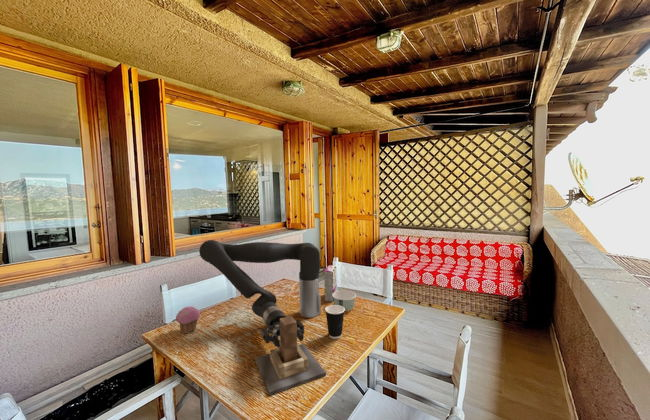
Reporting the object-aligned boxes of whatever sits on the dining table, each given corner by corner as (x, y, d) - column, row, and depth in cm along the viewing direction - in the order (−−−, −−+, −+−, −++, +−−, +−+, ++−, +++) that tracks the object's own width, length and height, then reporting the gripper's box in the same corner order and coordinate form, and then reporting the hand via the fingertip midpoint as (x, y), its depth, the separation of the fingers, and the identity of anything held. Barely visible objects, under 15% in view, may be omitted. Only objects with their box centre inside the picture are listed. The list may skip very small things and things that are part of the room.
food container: (355, 313, 127) (355, 300, 127) (330, 311, 129) (330, 298, 129) (357, 303, 139) (357, 291, 138) (334, 301, 141) (333, 289, 140)
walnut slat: (292, 358, 91) (291, 315, 90) (297, 367, 87) (296, 322, 86) (280, 362, 89) (279, 318, 88) (285, 371, 85) (284, 325, 84)
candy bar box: (328, 293, 152) (328, 265, 151) (337, 294, 151) (336, 265, 150) (324, 301, 141) (323, 270, 140) (333, 302, 140) (333, 271, 139)
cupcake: (193, 323, 118) (192, 301, 118) (204, 329, 113) (203, 306, 113) (172, 332, 111) (171, 309, 110) (183, 339, 106) (182, 314, 105)
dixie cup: (325, 330, 112) (325, 304, 111) (344, 330, 111) (344, 304, 111) (325, 341, 104) (324, 313, 103) (345, 341, 104) (345, 313, 103)
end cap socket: (303, 346, 100) (303, 334, 100) (325, 375, 84) (325, 361, 84) (255, 360, 92) (254, 347, 92) (269, 395, 76) (269, 380, 76)
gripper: (255, 314, 97) (268, 335, 82) (293, 306, 103) (311, 324, 89) (256, 334, 97) (268, 359, 83) (293, 325, 104) (311, 346, 89)
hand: (290, 341), depth 86 cm, fingers open, 7 cm apart
